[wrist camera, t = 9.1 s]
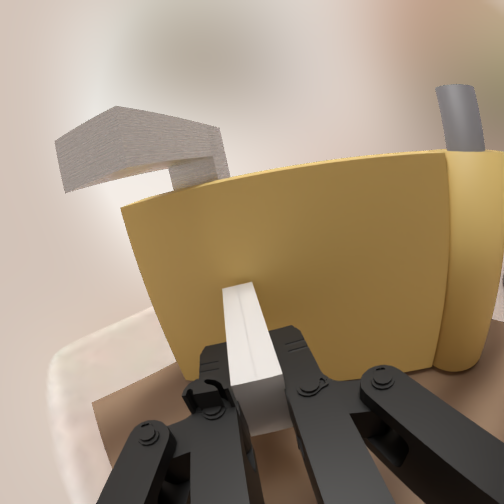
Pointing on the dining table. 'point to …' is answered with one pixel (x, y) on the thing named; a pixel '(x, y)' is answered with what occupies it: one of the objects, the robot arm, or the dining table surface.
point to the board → (284, 441)
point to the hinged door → (339, 252)
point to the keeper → (140, 149)
